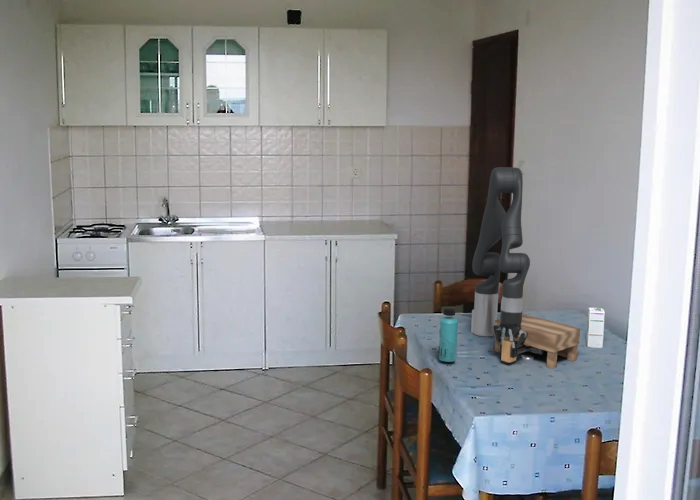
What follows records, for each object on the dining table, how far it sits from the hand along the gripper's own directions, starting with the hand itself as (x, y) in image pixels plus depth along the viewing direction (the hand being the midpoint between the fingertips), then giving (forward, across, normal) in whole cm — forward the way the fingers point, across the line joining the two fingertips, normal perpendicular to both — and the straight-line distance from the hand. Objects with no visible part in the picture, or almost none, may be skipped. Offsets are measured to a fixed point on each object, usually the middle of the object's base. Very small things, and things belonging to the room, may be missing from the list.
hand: (508, 355), depth 276 cm
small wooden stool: (+3, 0, +16) cm, 16 cm away
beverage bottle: (+3, -15, -16) cm, 22 cm away
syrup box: (+3, +7, +45) cm, 45 cm away
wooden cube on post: (+2, 0, +7) cm, 7 cm away
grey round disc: (+3, 0, +12) cm, 12 cm away
